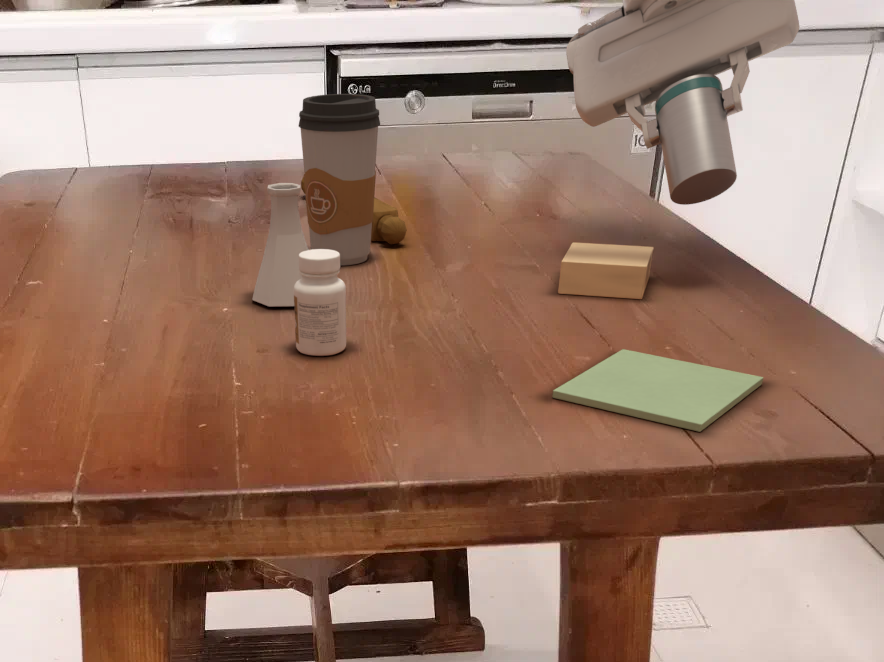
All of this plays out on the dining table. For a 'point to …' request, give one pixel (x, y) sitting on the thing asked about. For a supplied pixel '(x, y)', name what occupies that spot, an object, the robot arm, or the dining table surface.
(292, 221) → the flask
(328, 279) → the pill bottle
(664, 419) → the mat
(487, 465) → the dining table surface
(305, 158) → the coffee cup
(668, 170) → the tumbler
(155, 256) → the dining table surface
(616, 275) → the plate
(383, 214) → the tap handle
